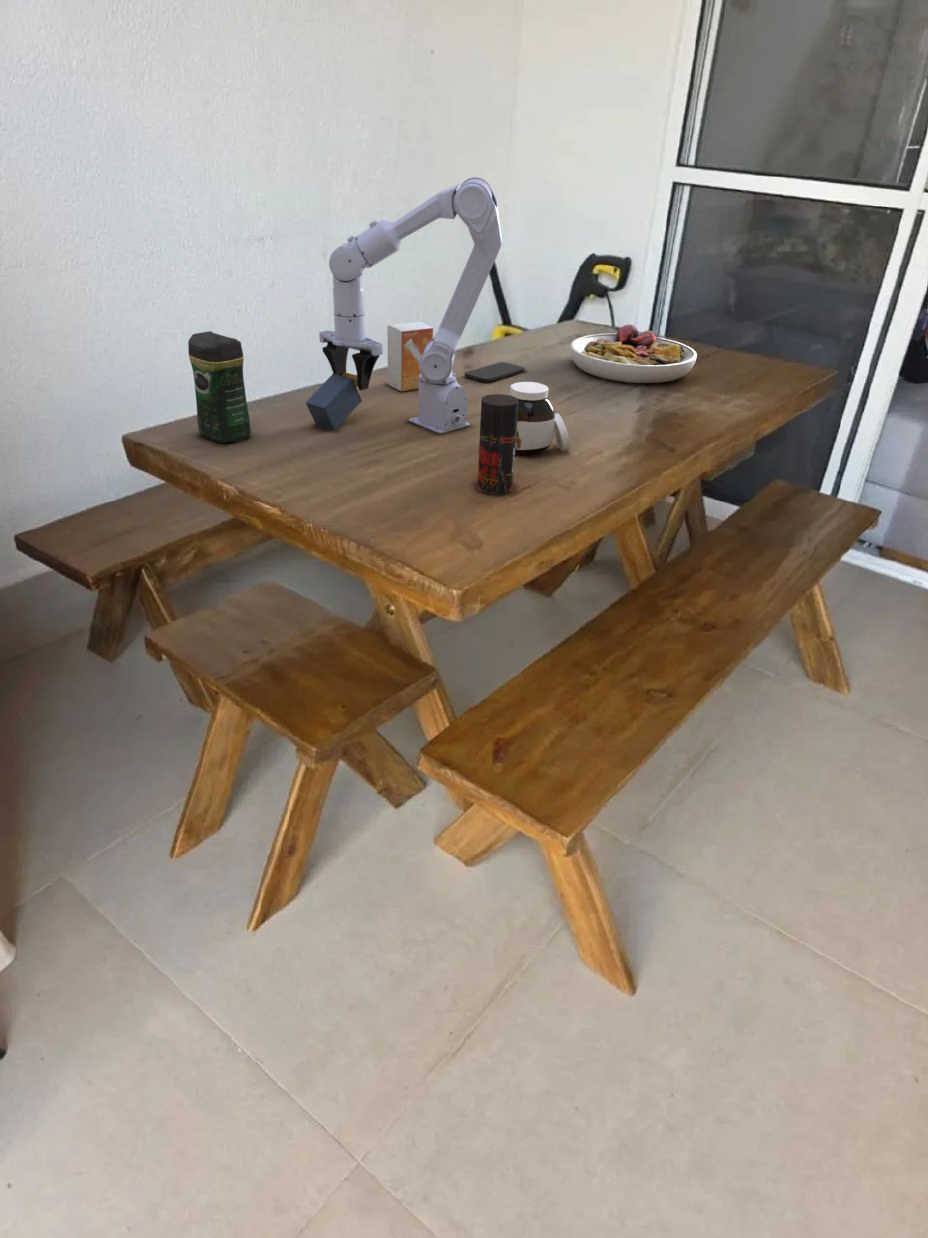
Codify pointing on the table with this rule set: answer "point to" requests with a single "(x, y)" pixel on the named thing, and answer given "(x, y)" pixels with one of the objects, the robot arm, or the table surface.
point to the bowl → (632, 356)
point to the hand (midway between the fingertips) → (351, 385)
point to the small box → (406, 353)
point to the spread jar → (537, 420)
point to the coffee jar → (219, 387)
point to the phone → (494, 371)
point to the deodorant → (497, 443)
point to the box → (334, 400)
